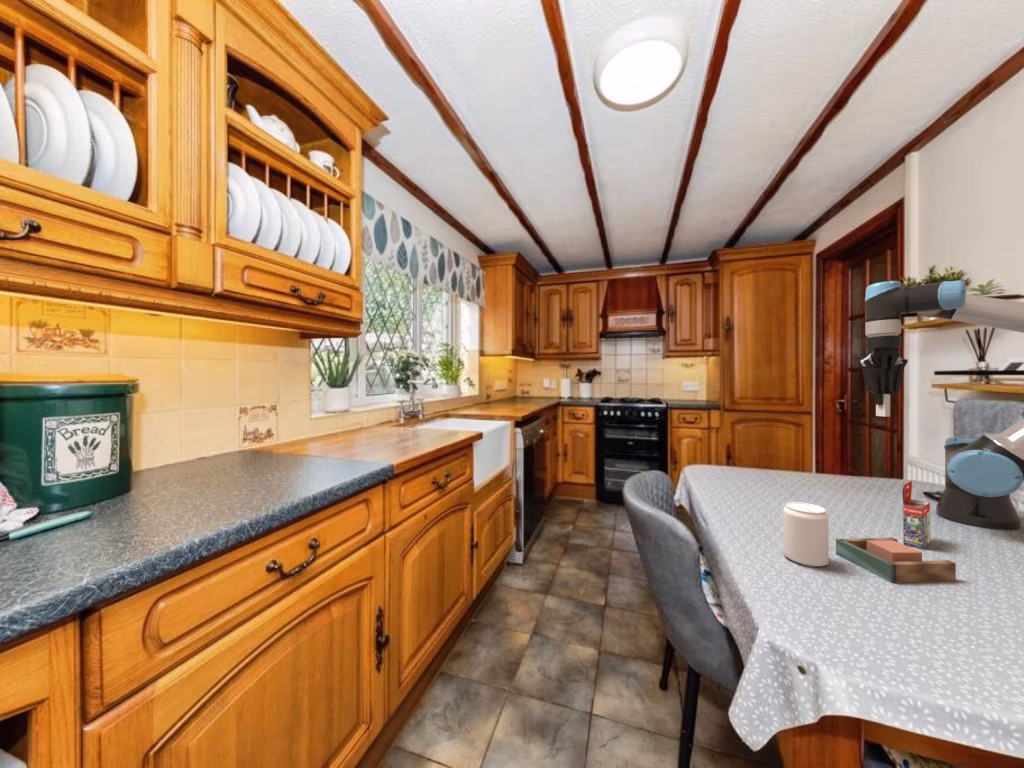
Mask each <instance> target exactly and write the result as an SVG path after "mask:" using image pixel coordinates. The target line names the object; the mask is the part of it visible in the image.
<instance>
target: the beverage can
mask: <svg viewBox="0 0 1024 768" xmlns="http://www.w3.org/2000/svg"><path fill="white" fill-rule="evenodd" d="M782 517H783V518H782V521H783V523H782V524H783V525H782V528H783V532H782V535H783V537H782V541H783V549H782V550H783V555H784V556H785V557H787V558H788V559H790V560H791V561H792V562H795V563H797V564H799V565H802V566H808V567H814V568H815V567H818V568H819V567H823V566H827V565H828V564H829V563H830V562H829V561H830V560H829V559H830V555H829V552H830V551H829V550H830V548H829V547H830V545H829V543H830V541H829V540H830V539H829V537H830V536H829V532H830V531H829V529H830V528H829V521H830V520H829V515H828V514H827V512H826V509H825V507H822V506H820V505H816V504H812V503H809V502H808V503H807V502H802V501H800V502H798V501H790V502H786V503H785V506H784V508H783V509H782Z"/></svg>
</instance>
